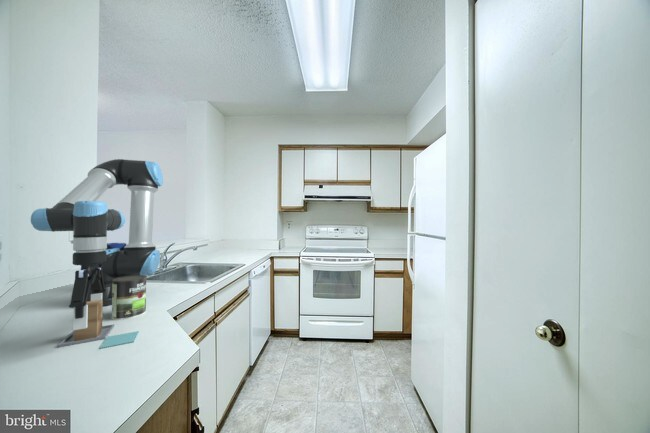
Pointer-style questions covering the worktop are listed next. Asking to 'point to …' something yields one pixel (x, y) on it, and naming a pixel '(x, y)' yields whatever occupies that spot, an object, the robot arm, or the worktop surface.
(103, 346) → the teal pad
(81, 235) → the robot arm
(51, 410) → the worktop surface
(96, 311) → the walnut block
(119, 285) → the coffee can
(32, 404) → the worktop surface
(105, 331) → the gray tray
